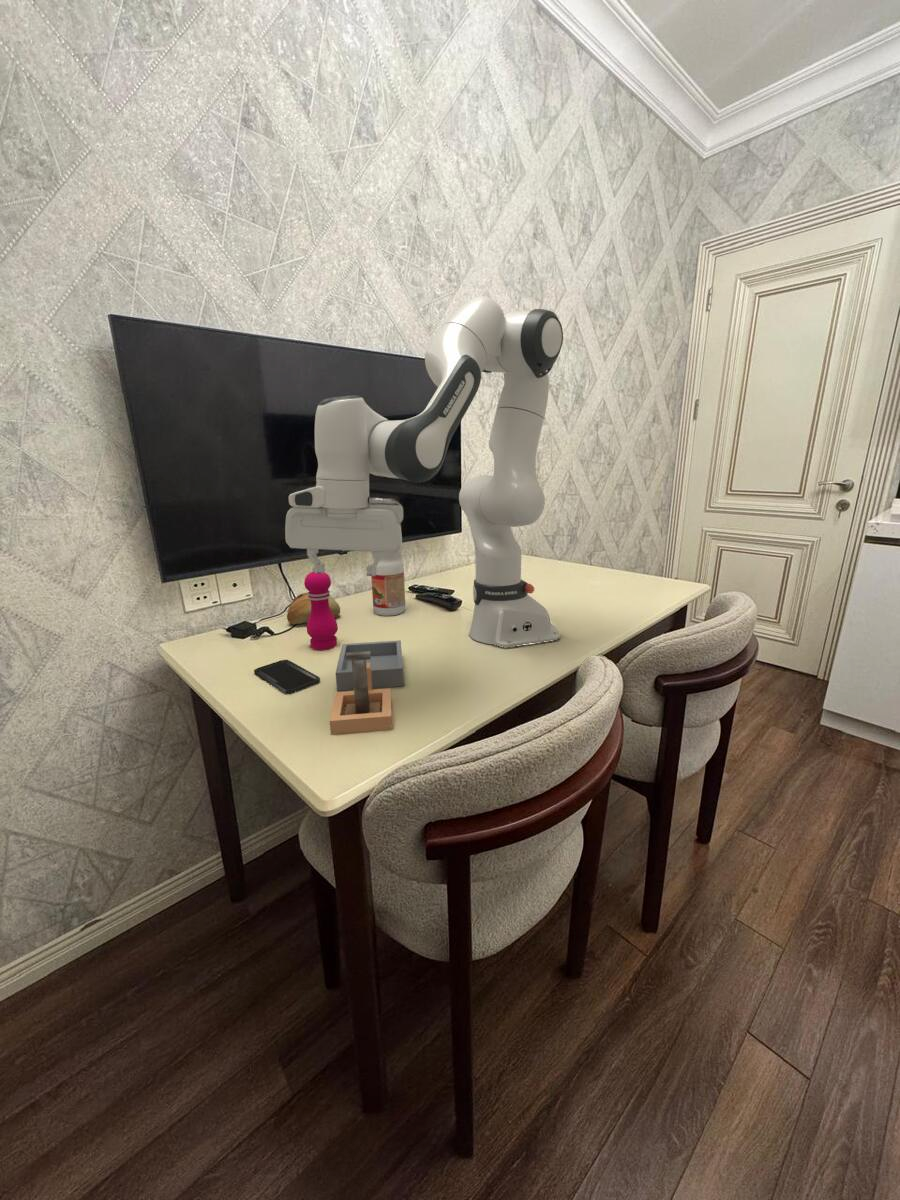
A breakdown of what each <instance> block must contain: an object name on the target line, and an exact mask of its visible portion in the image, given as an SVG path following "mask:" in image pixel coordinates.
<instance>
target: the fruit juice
mask: <svg viewBox="0 0 900 1200" xmlns="http://www.w3.org/2000/svg"><path fill="white" fill-rule="evenodd" d="M402 552H403V545H402V546H401V548H400V549H399V550H398V551H397V552H394V553H393V552H382V557H381V559H380V561H379V562H378V564H377V565H376V576H370V577H371V578H370V579H371V593H372V606H373V613H374V614H376V615H378V616H383V617H384V616H385V617H392V616H396V615H400V614H403V613H405V611H406V593H405V592H406V591H405V590H406V589H405V586H406V585H405V570H404V569H405V567H404V566H405V565H404V562H403V559H402ZM370 555H371V563H370V565H372V564H373V562H374V560H375V559H376V557H375V558H373V552H370Z"/></svg>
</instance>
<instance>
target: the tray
mask: <svg viewBox="0 0 900 1200" xmlns="http://www.w3.org/2000/svg"><path fill="white" fill-rule="evenodd" d="M364 651H370V654H371V659H368V660H366V663H367V662H371V677H372V689H382V688H391V687H392V688H393V687H404V685H405V684H404V683H405V682H404V665H403V653H402V641H401V640H400V639H399V640H389V641H388V640H387V641H386V640H385V641H371V642H352V643H342V644H341V648H340V653H339V657H338V661H337V665H336V669H335V681H336V692H341V691H347V690H348V691H354V685H353V673H352V661H346V653H348V652H364Z"/></svg>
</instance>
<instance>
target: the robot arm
mask: <svg viewBox="0 0 900 1200" xmlns="http://www.w3.org/2000/svg"><path fill="white" fill-rule="evenodd" d="M563 338H564V332H563V326H562V323H561V321H560V319H559V317H558V315H557V314H556V313H555V312H554V311H552V310H548V309H543V308H542V309H541V308H534V309H532V310H518V311H517V310H516V311H510V312H507V313H504V311H503V309H502V308H501V306H500V304H499V303H497V301H496V300H494V299H493V298H490V297H488V296H485V295H478V296H474V297H471V298H470V299H468V300H467V301H466V302H465V303H463V304H462V305H461V306H460V307H459V308H458V309H456V310H455V311H454V312H453V313H452V314H451V315H450V316H449V317H448V318H447V320H445V322H444V323H443V324H442V325H441V327H440V328H438V330H437V331H436V333H435V334H434V335H433V337H432V339H431V340H430V341H429V344H428V346H427V347H426V350H425V353H424V364H425V369H426V372H427V374H428V376H429V378H430V379H431V381H432V383H434V384H433V385H435V386H436V387H437V389H436V390H435V392H434V394H433V396H432V397H431V399H430V401H428V404H427V405H426V407H425V408H424V410H422V412H421V413H419V414H417V415H416V416H413V417H410V418H406V419H399V420H398V419H397V420H396V419H395V420H388V418H386V417H384V416H383V415H381V414H379V413H377V412H376V411H374V410H373V409H372V408H371V406H369V405H368V404H367V403H366V401H365V399H364V398H363V397H362V396H359V395H355V394H354V395H346V396H345V395H344V396H334V397H328V398H324V399H322V400H321V401H320V402H319V403H318V404H317V407H316V410H315V416H314V417H315V418H314V452H315V455H316V459H317V471H316V475H315V478H316V479H315V482H316V483H315V486H310V487H306V488H305V489H303V490H299V491H295V492H293V493H290V494H289V495H288V504H289V505H290V506H291V507H290V509H289V510H287V513H286V515H285V527H284V530H285V531H284V532H285V535H284V536H285V543H286V544H287V545H288V546H289V548H291V549H302V550H304V549H305V550H306V555H307V557H308V559H309V560H310V561H311V562H312V564H313V566H314V571H313V572H315V574H323V573H326V563H325V562H321V561H320V558H319V557H318V555H317V554H318V553H319V550H325V551H327V550H328V551H330V550H332V551H347V552H349V551H351V552H370V553H371V552H373V558H375V557H376V559H375V560H374V562H373V564H372V565H371V564H367V566H366V571H367V572H366V576H367V577H371V576H376V565H377V564H378V562H379V561H380V559H381V557H382V552H393V553H394V552H397V551H398V550H399V549H400V548H401V546H402V547H403V536H402V525H401V524H402V522H403V520H404V507H403V505H402V504H401V502H399V501H397V500H396V499H395V498H391V497H390V498H389V497H388V498H383V497H382V498H381V497H370V474H371V475H373V476H377V477H386V478H391V479H400V480H404V481H408V482H412V483H415V484H416V483H418V484H419V483H425V482H428V481H430V480H432V479H433V478H434V477H435V476H436V475H437V474H438V473H439V471H440V470H441V468H442V466H443V464H444V461H445V459H446V455H447V451H448V448H449V445H450V443H451V442H452V441H451V440H452V438H453V436H454V434H455V432H456V431H457V429H458V427H459V426H460V425H461V422H462V420H463V418H464V416H465V415H466V414H467V411H468V409H469V408H470V406H471V404H472V402H473V401H474V399H475V397H476V394H477V392H478V391H479V388H480V385H481V381H482V373H485V374H488V373H490V374H492V373H502V374H503V380H504V381H503V383H504V384H503V387H502V389H501V392H500V395H499V399H498V402H497V406H496V410H495V414H494V417H493V422H492V427H491V429H490V430H491V431H490V435H489V440H488V448H489V450H490V451H491V453H492V455H493V456H492V457H493V466H494V467H493V475H486V474H483V475H479V476H476V477H473V478H470V479H468V480H467V481H466V482H465V483H464V484H463V485H462V486H461V488H460V491H459V494H458V501H459V502H458V503H459V505H460V507H461V510H462V512H463V513H464V514H465V516H466V518H467V520H468V521H467V522H468V525H469V528H470V532H471V536H472V540H473V545H474V553H475V556H474V557H475V560H474V561H475V579H474V580H473V587H472V590H473V591H472V593H473V595H472V596H473V598H472V599H473V603H474V609H473V616H472V622H471V625H470V628H469V632H468V635H469V637H470V638H471V639H472V640H474V641H477V642H479V643H483V644H487V645H492V644H494V645H493V646H496V645H497V646H496V647H498V646H500V647H499V648H501V647H502V649H508V648H507V647H511V648H514V647H513V646H517V645H523V644H529V643H537V642H544V641H551V640H557V639H560V638H559V636H560V630H559V629H558V628H557V627H556V626H555V625H554V624H553V623H551V618H550V614H549V612H548V609H547V608H546V607H544V606H543V605H542V604H541V603H540V602H539V601H537V600H536V599H534V598H533V597H532V596H530V595H531V594H533V593H534V592H535V589H536V588H535V586H534V585H532V584H531V583H528V582H527V581H525V580H524V579H522V555H523V554H522V549H521V546H520V544H519V543H518V542H517V540H516V539H515V536H514V533H513V529H512V528H515V527H523V526H524V527H525V526H531V525H532V524H534V523H536V522H537V521H538V520H539V519H540V517H541V516H542V515H543V512H544V509H545V502H546V500H545V499H546V498H545V497H546V496H545V493H544V490H543V488H542V487H541V486H540V483H539V482H538V477H537V468H536V466H537V465H536V463H537V462H536V460H537V459H536V458H537V450H538V446H539V442H540V437H541V433H542V428H543V424H544V421H545V415H546V411H547V407H548V399H549V389H550V376H549V373H550V372H551V371H552V368H553V366H554V364H555V363H556V361H557V360H558V357H559V355H560V352H561V350H562V347H563V341H564V339H563ZM557 641H558V640H557ZM503 647H504V648H503Z"/></svg>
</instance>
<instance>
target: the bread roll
mask: <svg viewBox="0 0 900 1200" xmlns="http://www.w3.org/2000/svg"><path fill="white" fill-rule="evenodd" d="M328 600H329V607H330V610H331V612H332V614H333V616H334V618H335V619H336V618H338V616H339V615H340V614H341V607H340V605H339V603H338V602H337V601H336V599H335V598H334V597H333V595H330V597H329V598H328ZM310 613H311V601H310V599H308V592H304V593H300V594H299V595H297V596H296V597H294V599H293V600H292V602H291V603H290V604H289V606H288V609H287V613H286V614H287V615H286V619H287V621H288V623H289V624H292V625H298V624H305V623H306V624H307V623H308V620H309V617H310Z"/></svg>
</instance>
